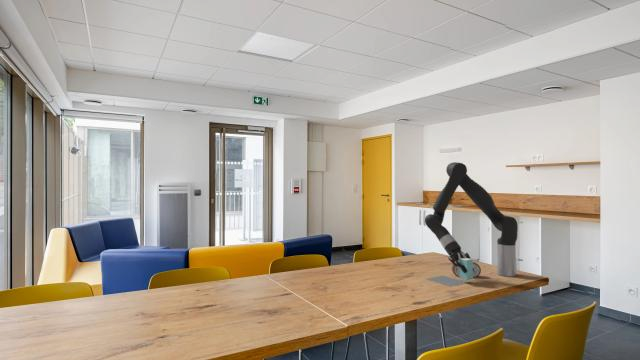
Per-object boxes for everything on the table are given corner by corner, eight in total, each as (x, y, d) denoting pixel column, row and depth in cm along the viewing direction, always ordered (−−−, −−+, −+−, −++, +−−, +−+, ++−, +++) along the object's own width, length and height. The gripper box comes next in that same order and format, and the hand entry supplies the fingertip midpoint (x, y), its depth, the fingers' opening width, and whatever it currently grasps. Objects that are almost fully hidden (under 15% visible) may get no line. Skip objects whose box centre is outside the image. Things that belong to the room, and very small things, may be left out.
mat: (442, 276, 202) (442, 275, 202) (468, 283, 187) (468, 282, 187) (424, 279, 195) (424, 278, 195) (450, 287, 180) (450, 286, 180)
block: (465, 277, 191) (465, 257, 191) (473, 279, 187) (472, 259, 187) (459, 278, 188) (459, 258, 189) (467, 280, 185) (466, 260, 185)
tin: (479, 276, 202) (479, 261, 202) (481, 278, 199) (481, 262, 199) (451, 276, 204) (451, 260, 204) (453, 277, 200) (453, 262, 201)
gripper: (444, 241, 191) (464, 269, 180) (463, 239, 198) (483, 265, 187) (437, 250, 195) (455, 277, 185) (455, 247, 202) (474, 274, 192)
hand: (469, 271), depth 186 cm, fingers closed on block, 4 cm apart
